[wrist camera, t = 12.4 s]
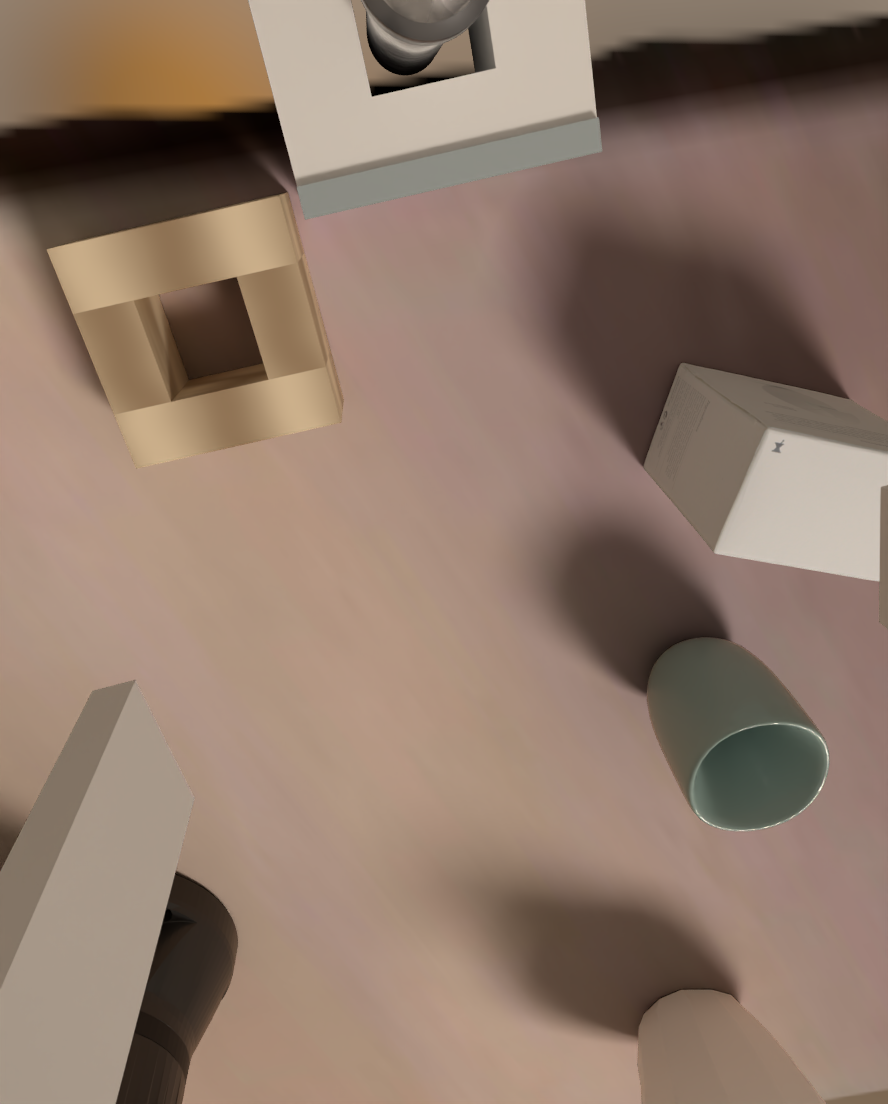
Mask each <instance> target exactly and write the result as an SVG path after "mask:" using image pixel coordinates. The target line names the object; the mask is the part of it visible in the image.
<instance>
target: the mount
mask: <svg viewBox="0 0 888 1104" xmlns="http://www.w3.org/2000/svg"><path fill="white" fill-rule="evenodd" d="M46 250H47V252H48V254H49V257H50V259H51V262H52V264H53V267H54V269H55V272H56V274H57V276H58V279H59V281H60V284H61V286H62V289H63V291H64V294H65V296H66V298H67V301H68V303H69V306H70V308H71V311H72V313H73V316H74V318H75V320H76V323H77V325H78V328H79V330H80V333H81V335H82V338H83V340H84V342H85V345H86V347H87V350H88V352H89V355H90V357H91V359H92V362H93V364H94V367H95V369H96V372H97V374H98V377H99V379H100V381H101V384H102V386H103V389H104V391H105V394H106V396H107V399H108V401H109V403H110V406H111V408H112V411H113V413H114V416H115V418H116V421H117V423H118V425H119V428H120V430H121V433H122V435H123V438H124V440H125V443H126V445H127V447H128V450H129V452H130V455H131V457H132V460H133V462H134V465H135V467H136V469H137V468H141V467H146V466H150V465H155V464H159V463H164V462H168V461H173V460H177V459H181V458H186V457H190V456H195V455H199V454H204V453H208V452H213V451H217V450H221V449H226V448H230V447H235V446H239V445H244V444H248V443H253V442H257V441H261V440H266V439H270V438H275V437H279V436H284V435H288V434H293V433H297V432H301V431H306V430H310V429H315V428H319V427H324V426H328V425H333V424H337V423H341V420H342V411H343V402H344V399H343V395H342V391H341V387H340V384H339V380H338V376H337V373H336V369H335V365H334V361H333V358H332V354H331V350H330V347H329V343H328V339H327V335H326V332H325V328H324V324H323V321H322V317H321V313H320V309H319V306H318V302H317V298H316V295H315V291H314V287H313V283H312V280H311V276H310V272H309V269H308V265H307V261H306V257H305V254H304V250H303V246H302V243H301V239H300V235H299V231H298V228H297V224H296V220H295V217H294V213H293V209H292V205H291V202H290V198H289V194H288V192H286V193H282V194H278V195H273V196H269V197H265V198H260V199H256V200H251V201H247V202H243V203H238V204H234V205H230V206H225V207H221V208H217V209H212V210H208V211H204V212H199V213H195V214H191V215H186V216H182V217H178V218H173V219H169V220H165V221H160V222H156V223H151V224H147V225H143V226H138V227H134V228H130V229H125V230H121V231H117V232H112V233H108V234H104V235H99V236H95V237H91V238H86V239H82V240H78V241H74V242H71V243H67V244H63V245H60V246H56V247H53V248H49V249H46ZM233 277H237V280H238V283H239V286H240V289H241V292H242V296H243V299H244V302H245V305H246V309H247V312H248V315H249V318H250V321H251V325H252V328H253V331H254V334H255V338H256V341H257V344H258V347H259V350H260V354H261V357H262V360H263V363H262V364H258V365H253V366H249V367H245V368H240V369H236V370H231V371H227V372H223V373H218V374H214V375H209V376H205V377H201V378H196V379H192V380H189V379H188V376H187V373H186V371H185V368H184V365H183V362H182V359H181V357H180V354H179V351H178V348H177V345H176V343H175V340H174V337H173V334H172V331H171V329H170V326H169V323H168V320H167V317H166V315H165V312H164V309H163V306H162V303H161V301H160V298H159V294H163V293H168V292H172V291H177V290H181V289H185V288H190V287H194V286H198V285H203V284H207V283H212V282H216V281H220V280H225V279H229V278H233Z"/></svg>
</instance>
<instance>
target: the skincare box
mask: <svg viewBox="0 0 888 1104" xmlns="http://www.w3.org/2000/svg"><path fill="white" fill-rule="evenodd" d="M643 468H644V469H645V471H646V472H647V473H648V474H649V475H650V477H651V478H652V479H653V480H654V481H655V482H656V484H657V485H658V486H659V487H660V488H661V489H662V491H663V492H664V493H665V494H666V495H667V496H668V498H669V499H670V500H671V501H672V502H673V503H674V505H675V506H676V507H677V508H678V509H679V511H680V512H681V513H682V514H683V516H684V517H685V518H686V519H687V520H688V521H689V523H690V524H691V525H692V526H693V527H694V529H695V530H696V531H697V532H698V534H699V535H700V536H701V537H702V539H703V540H704V541H705V542H706V543H707V545H708V546H709V547H710V548H711V550H712V551H713V552H714V553H715V554H721V555H726V556H732V557H738V558H744V559H750V560H756V561H761V562H767V563H773V564H779V565H785V566H791V567H797V568H803V569H808V570H814V571H820V572H826V573H832V574H837V575H843V576H849V577H855V578H861V579H867V580H873V581H879V579H880V494H881V487H882V486H886V485H888V422H887V421H886V420H884V419H882V418H880V417H879V416H877V415H875V414H873V413H872V412H870V411H868V410H867V409H865V408H863V407H861V406H860V405H858V404H857V403H855V402H854V401H852V400H850V399H845V398H841V397H837V396H833V395H829V394H825V393H821V392H816V391H812V390H807V389H803V388H798V387H794V386H789V385H784V384H780V383H775V382H771V381H766V380H761V379H757V378H752V377H748V376H743V375H739V374H734V373H729V372H724V371H720V370H715V369H710V368H705V367H700V366H695V365H691V364H687V363H681V364H680V366H679V368H678V370H677V373H676V376H675V379H674V382H673V384H672V387H671V390H670V393H669V395H668V398H667V401H666V404H665V406H664V409H663V412H662V415H661V417H660V420H659V423H658V426H657V428H656V431H655V434H654V437H653V439H652V442H651V445H650V448H649V451H648V453H647V457H646V460H645V463H644V467H643Z"/></svg>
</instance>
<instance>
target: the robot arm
mask: <svg viewBox="0 0 888 1104" xmlns="http://www.w3.org/2000/svg"><path fill="white" fill-rule="evenodd" d="M879 622H880V623H881V624H882V625H883V626H885V627H886V628H887V629H888V485H886V486H882V487H881V494H880V579H879ZM193 802H194V796H193V794H192V792H191V790H190V788H189V786H188V784H187V782H186V780H185V778H184V776H183V774H182V772H181V770H180V768H179V766H178V764H177V762H176V760H175V758H174V756H173V754H172V752H171V750H170V748H169V746H168V744H167V742H166V740H165V738H164V736H163V734H162V732H161V730H160V728H159V726H158V724H157V722H156V720H155V718H154V716H153V714H152V712H151V710H150V708H149V706H148V704H147V702H146V700H145V698H144V696H143V694H142V692H141V690H140V688H139V686H138V684H137V682H136V680H133V681H129V682H125V683H121V684H118V685H114V686H110V687H106V688H102V689H98V690H94V691H92V693H91V695H90V697H89V699H88V701H87V703H86V705H85V707H84V709H83V711H82V712H81V714H80V716H79V718H78V720H77V722H76V724H75V726H74V728H73V730H72V732H71V734H70V736H69V738H68V740H67V742H66V744H65V746H64V748H63V750H62V752H61V754H60V756H59V758H58V759H57V761H56V763H55V765H54V767H53V769H52V771H51V773H50V775H49V777H48V779H47V781H46V783H45V785H44V787H43V789H42V791H41V793H40V795H39V797H38V799H37V801H36V803H35V804H34V806H33V808H32V810H31V812H30V814H29V816H28V818H27V820H26V822H25V824H24V826H23V828H22V830H21V832H20V834H19V836H18V838H17V840H16V842H15V844H14V846H13V848H12V850H11V851H10V853H9V855H8V857H7V859H6V861H5V863H4V865H3V867H2V869H1V871H0V1104H182V1101H183V1096H184V1090H185V1084H186V1079H187V1074H188V1069H189V1065H190V1061H191V1057H192V1055H193V1053H194V1051H195V1049H196V1048H197V1046H198V1044H199V1042H200V1040H201V1038H202V1036H203V1035H204V1033H205V1031H206V1029H207V1027H208V1025H209V1023H210V1021H211V1020H212V1018H213V1016H214V1014H215V1012H216V1010H217V1008H218V1006H219V1004H220V1002H221V1000H222V999H223V997H224V995H225V994H226V992H227V990H228V988H229V985H230V982H231V979H232V976H233V971H234V965H235V959H236V953H237V947H238V937H237V931H236V928H235V924H234V922H233V920H232V918H231V916H230V914H229V913H228V911H227V910H226V909H225V907H224V906H223V905H222V904H221V903H220V902H219V901H218V900H217V899H216V898H215V897H214V896H213V895H212V894H210V893H209V892H208V891H206V890H205V889H203V888H202V887H200V886H198V885H197V884H195V883H193V882H191V881H189V880H187V879H185V878H182V877H180V876H177V875H175V872H176V868H177V864H178V860H179V856H180V853H181V849H182V845H183V841H184V837H185V833H186V829H187V826H188V822H189V818H190V814H191V810H192V806H193Z"/></svg>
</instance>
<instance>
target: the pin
mask: <svg viewBox="0 0 888 1104" xmlns="http://www.w3.org/2000/svg"><path fill="white" fill-rule="evenodd" d="M361 2H362V3H363V5H364V7H365V9H366V18H367V19H366V20H367V38H368V43H369V47H370V49H371V52H372V54H373V56H374V57H375V59H376V60H377V61H378V62H379V64H380V65H381V66H383V67H384V68H385V69H386V70H388V71H390V72H392V73H394V74H398V75H412V74H415V73H418V72H420V71H422V70H423V69H425V68H426V67H427V66H428V65H429V64H430V63H431V62H432V60H433V59H434V57H435V55H436V54H437V52H438V51H439V49H440V48H441V46H442V45H443V43H445V42H448V41H450V40H452V39H454V38H456V37H457V36H459V35H460V34H462V33H463V32H464V31H465V30H466V29H468V28H469V27H470V26H471V25H472V24H473V22H474V21H475V20H476V19H477V18H478V16H479V15H480V14H481V12H482V11H483V10H484V8H485V6H486V5H487V3H488V2H489V0H361Z"/></svg>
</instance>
